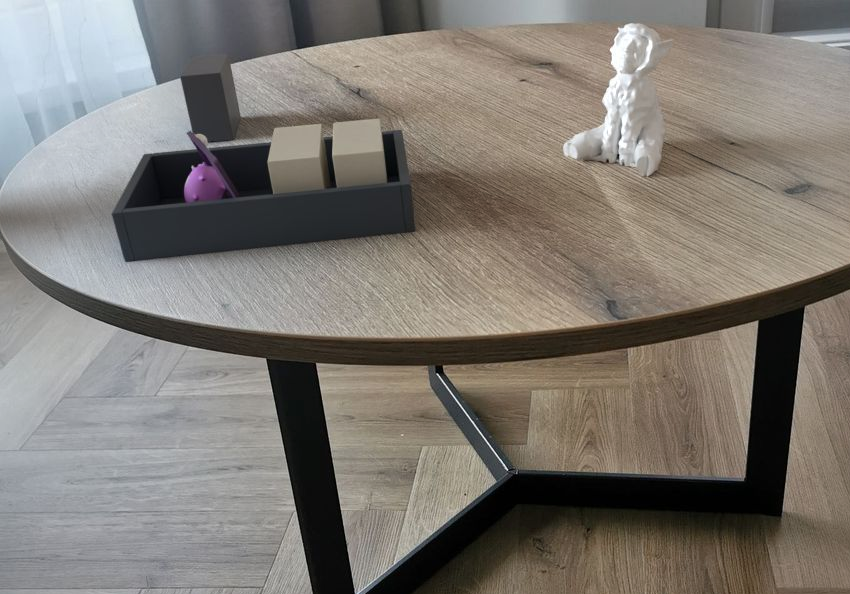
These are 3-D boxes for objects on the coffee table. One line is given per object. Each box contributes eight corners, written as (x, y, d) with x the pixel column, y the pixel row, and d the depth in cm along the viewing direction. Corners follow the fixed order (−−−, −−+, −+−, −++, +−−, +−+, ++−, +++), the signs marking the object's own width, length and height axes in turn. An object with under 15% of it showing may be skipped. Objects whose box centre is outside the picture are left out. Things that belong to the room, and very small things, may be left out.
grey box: (194, 143, 100) (179, 76, 96) (204, 120, 107) (190, 56, 103) (233, 139, 100) (220, 72, 97) (240, 117, 107) (228, 53, 104)
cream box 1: (280, 232, 77) (267, 161, 74) (286, 194, 85) (274, 127, 82) (330, 227, 78) (319, 156, 75) (331, 189, 85) (321, 123, 82)
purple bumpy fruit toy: (225, 154, 74) (197, 125, 81) (166, 190, 73) (143, 157, 80) (268, 223, 78) (238, 190, 85) (213, 258, 77) (186, 221, 84)
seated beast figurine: (559, 162, 90) (556, 30, 83) (604, 134, 96) (605, 10, 89) (651, 179, 85) (655, 40, 79) (692, 149, 91) (699, 18, 85)
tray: (126, 268, 74) (111, 213, 72) (156, 203, 86) (143, 153, 84) (416, 238, 76) (410, 183, 74) (407, 178, 88) (401, 129, 86)
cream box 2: (342, 226, 78) (332, 155, 75) (342, 188, 85) (333, 122, 82) (391, 221, 78) (383, 150, 75) (387, 183, 85) (380, 117, 82)
